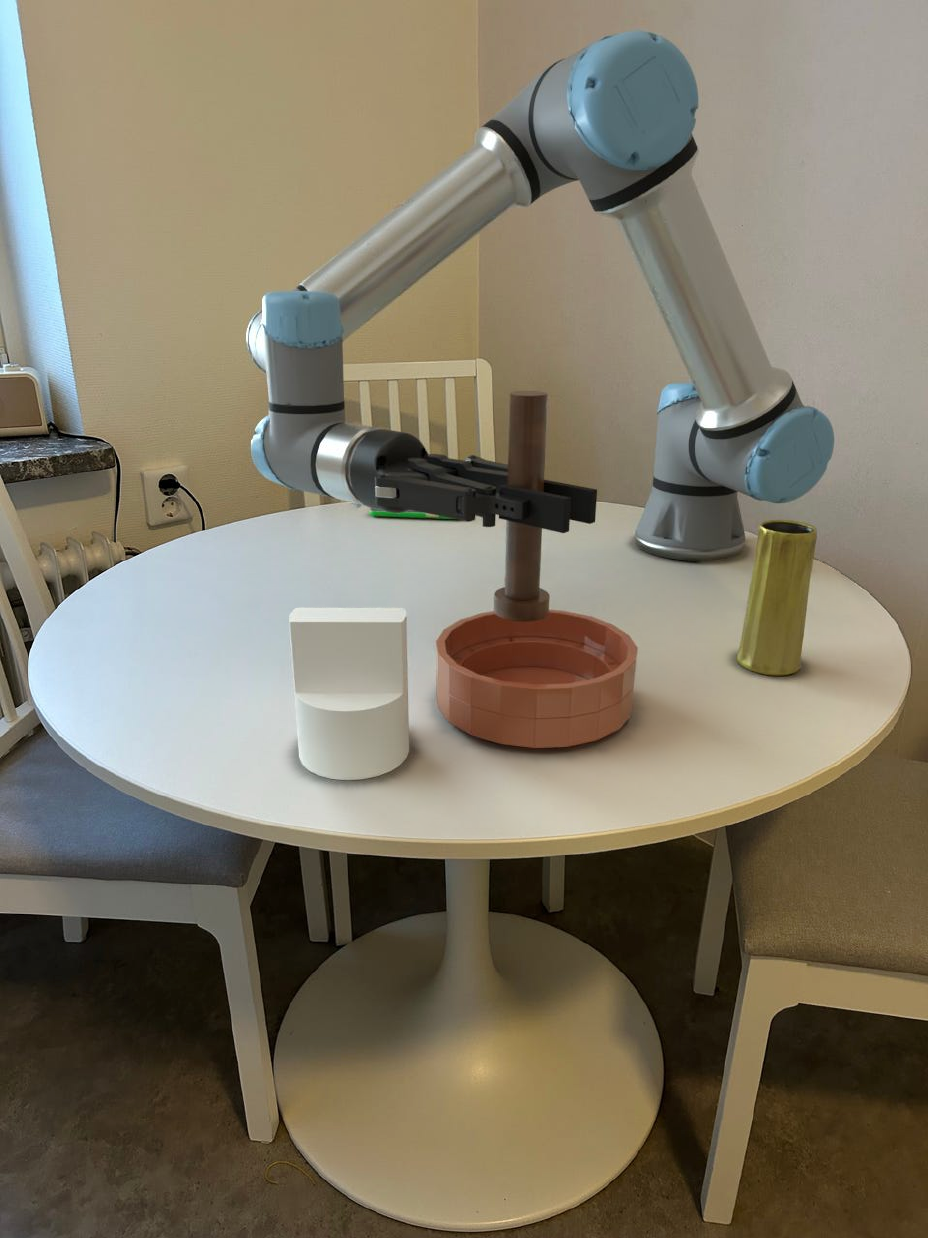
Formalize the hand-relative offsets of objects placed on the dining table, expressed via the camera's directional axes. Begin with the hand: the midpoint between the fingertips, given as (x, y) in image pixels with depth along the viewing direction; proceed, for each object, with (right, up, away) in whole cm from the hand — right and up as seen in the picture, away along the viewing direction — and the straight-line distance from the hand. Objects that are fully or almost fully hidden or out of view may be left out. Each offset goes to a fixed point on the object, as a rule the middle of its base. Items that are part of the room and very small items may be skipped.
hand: (580, 510), depth 69 cm
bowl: (-3, -16, +11) cm, 20 cm away
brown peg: (-4, -8, +7) cm, 11 cm away
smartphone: (-17, +9, +73) cm, 75 cm away
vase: (+21, -13, +19) cm, 32 cm away
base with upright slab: (-18, -20, +3) cm, 27 cm away
